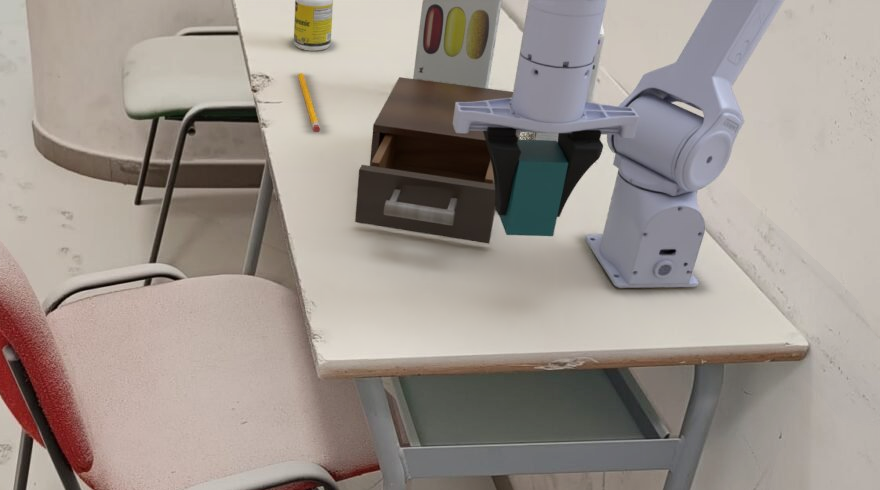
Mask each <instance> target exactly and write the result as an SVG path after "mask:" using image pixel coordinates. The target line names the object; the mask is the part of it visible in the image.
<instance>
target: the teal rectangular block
mask: <svg viewBox="0 0 880 490" xmlns="http://www.w3.org/2000/svg"><path fill="white" fill-rule="evenodd" d="M517 144H518V146H519V149H520V151H521V154H520V157H519V160H518V163H517V166H516V170H515V173H514V177H513V181H512V187H511V195H510V201H509V205H508V209H507V213H506V216H504V215H498V216H499V219H500V222H501V224H502V228H503V230H504V233H505V235H506V236H526V237H527V236H529V237H554V233H555V230H556V224H557V219H558V217H557V215H558V210H559V205H560V201H561V196H562V191H563V186H564V181H565V177H566V172H567V167H568V161H567V159H566V157H565V156H564V154H563V152H562V150H561V148H560V146H559V144H558V143H557V141H553V140H533V139H519V140H518V142H517Z"/></svg>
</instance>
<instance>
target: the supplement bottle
mask: <svg viewBox="0 0 880 490" xmlns="http://www.w3.org/2000/svg"><path fill="white" fill-rule="evenodd" d="M333 6H334V0H295V1H294V23H293V24H294V27H293V44H294V46H295V47H297V48H298V49H301V50H305V51H310V52H311V51H312V52H316V51H323V50H326V49H328V48H330V46H331V43H332V29H333V28H332V26H333V10H334V7H333Z"/></svg>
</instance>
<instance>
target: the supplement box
mask: <svg viewBox="0 0 880 490" xmlns="http://www.w3.org/2000/svg"><path fill="white" fill-rule="evenodd" d="M502 2H503V0H422V2H421V11H420V20H419V26H418V35H417V44H416V51H415V59H414V68H413V77H412V79H418V80H425V81H433V82H441V83H449V84H456V85H464V86H472V87H480V88H488V89H489V84H490V77H491V72H492V65H493V59H494V55H495V54H494V52H495V47H496V41H497V34H498V29H499V28H498V27H499V22H500V15H501V8H502Z"/></svg>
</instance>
